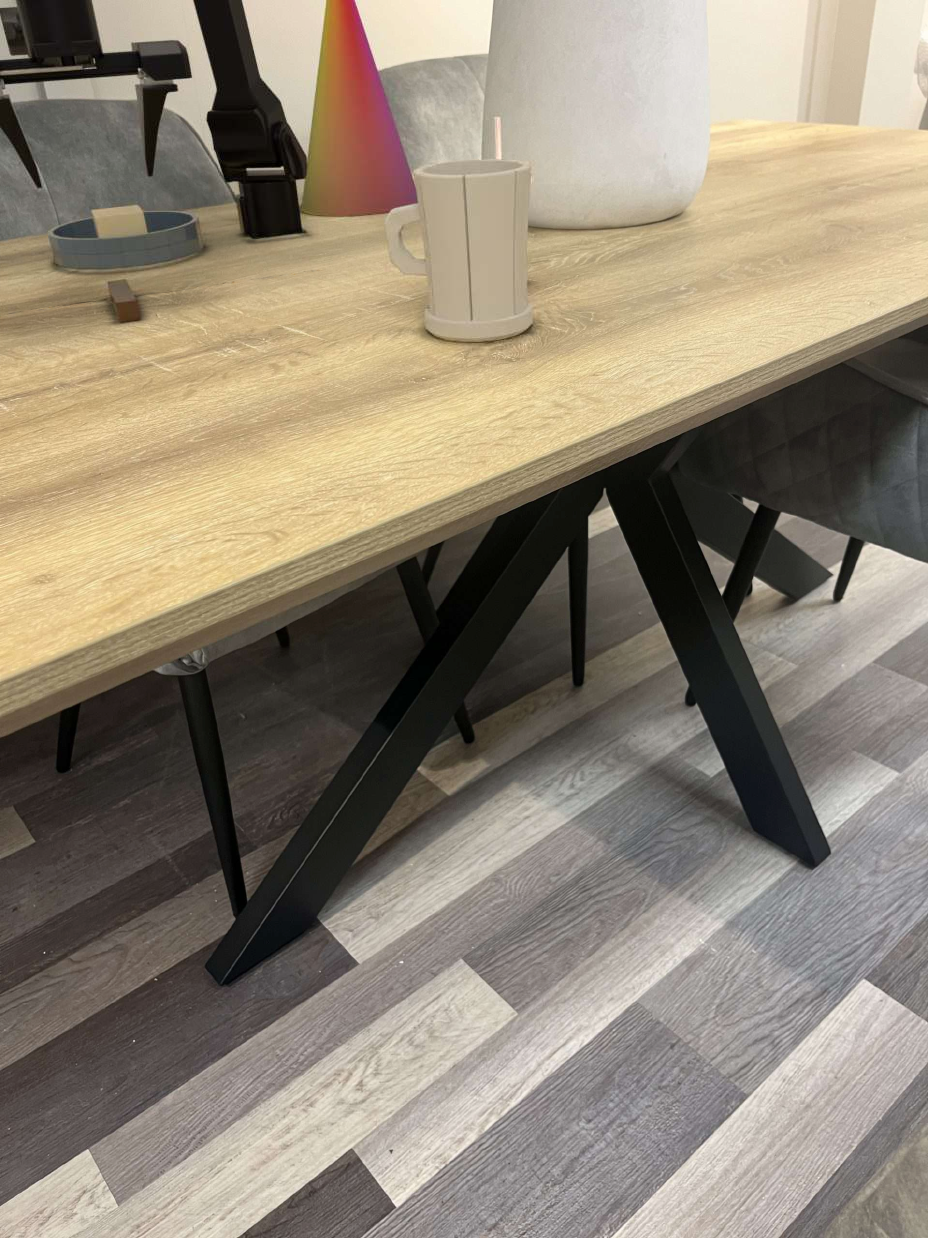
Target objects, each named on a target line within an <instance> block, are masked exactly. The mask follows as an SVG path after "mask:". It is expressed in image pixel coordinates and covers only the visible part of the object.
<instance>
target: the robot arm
mask: <svg viewBox="0 0 928 1238" xmlns="http://www.w3.org/2000/svg"><path fill="white" fill-rule="evenodd" d="M192 1H193V6H194V9H195V13H196V17H197V20H198V24H199V28H200V31H201V35H202V39H203V43H204V47H205V50H206V51H205V52H206V53H207V58H208V62H209V65H210V69H211V72H212V76H213V81H214V84H215V89H216V91H215V94H214V98H213V102H212V106H211V110H208V111H207V113H206V119H205V121H206V123H207V126H208V129H209V132H210V136H211V140H212V147H213V151H214V153H215V155H216V158H217V162H218V165H219V167H220V171H221V173H222V177H223V180H224V182H225V184H227V183H228V184H229V183H230V184H231V183H237V184H238V191H239V193H237V194H236V195H235V197H234V198H235V204H236V209H237V216H238V221H239V228H240V231H241V232H242V233H243V234H244V235H246V236H248V237H249V238H250V239H251V240H258V239H267V238H275V237H283V236H290V235H291V236H292V235H299V234H307V230H306V229H305V228H303V225H302V216H301V210H300V203H299V202H300V201H299V194H298V187H297V181H299V180H305V178H306V176H307V158H308V156H307V155H306V153H305V151H304V148H303V147H302V144H300V141H299V140H298V138H297V137H296V135H295V133H294V130H293V129H292V127H291V126H290V124H289V123H288V120H287V118H286V113H285V111H284V108H283V104H282V101H281V100H280V98H279V97H278V96H277V95H276V93H274V91H273V90H272V88H270V87H269V86H268V84H267V82H265V81H264V79H263V78H262V77H261V74H260V70H259V67H258V62H257V57H256V54H255V53H256V52H255V49H254V46H253V45H254V44H253V41H252V36H251V32H250V28H249V25H248V20H247V16H246V11H245V7H244V3H243V0H192ZM15 3H16V6H10V7H9V6H8V7H0V20H1V24H2V29H3V32H4V36H5V39H6V44H7V48H8V51H9V55H10V56H12V57H15V56H27V57H23V58H10V59H8V58H7V59H0V129H1V131H2V132H3V133H4V135H5V136H6V138H7V139H8V141H9V142H10V144H11V145H12V147H13V149H14V150H15V153H16V154H17V156H18V157H19V159H20V160H21V163H22V164H23V166H24V167H25V169H26V171H27V173H28V174H29V176H30V178H31V180H32V181H33V183H34V185H35V187H36V188H37V189H42V188H43V184H42V180H41V176H40V173H39V170H38V167H37V163H36V161H35V159H34V156H33V153H32V151H31V148H30V146H29V143H28V141H27V138H26V136H25V133H24V130H23V128H22V125H21V123H20V119H19V118H18V115H17V112H16V109H15V108H14V104H13V101H12V99H11V97H10V94H5V93H4V90H6V89H7V87H6V85H17V84H18V85H19V84H20V85H21V84H30V83H31V84H33V83H45V82H58V81H59V82H60V81H72V80H73V81H74V80H85V79H86V80H87V79H98V78H111V77H125V76H136V78H137V79H138V80H139V83H137V84H134V88H135V94H136V101H137V108H138V117H139V118H138V119H139V129H140V141H141V150H142V151H141V152H142V159H143V164H144V169H145V172H146V176H147V177H148V178H151V177H153V176H154V169H155V168H154V167H155V161H156V160H155V159H156V153H157V144H158V136H159V135H158V134H159V129H160V123H161V119H162V115H163V111H164V107H165V103H166V99H167V95H168V94H169V93H177V92H178V91H179V87H178V84H176V83H174V81H175V80H187V79H193V75H192V74H193V73H192V69H191V62H190V56H189V53H188V50H187V47H186V46H185V45H184V44H183V43H182V42H181V41H180V40H177V39H167V40H166V39H165V40H151V41H135V42H130V45H131V50H127V51H112V52H104V50H103V46H102V42H101V36H100V30H99V27H98V21H97V18H96V12H95V8H94V4H93V0H15ZM280 168H283V169H280ZM249 169H251V170H249Z"/></svg>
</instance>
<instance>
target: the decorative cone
mask: <svg viewBox="0 0 928 1238" xmlns="http://www.w3.org/2000/svg"><path fill="white" fill-rule="evenodd" d="M322 25H323V26H322V33H321V42H320V51H319V58H318V67H317V73H316V74H317V76H316V84H315V92H314V101H313V109H312V117H311V125H310V135H309V143H308V151H307V176H306V178H305V179H304V184H303V192H302V199H301V200H302V201H301V210H300V211H302V212H303V213H305V214H310V215H314V216H315V215H316V216H326V217H331V216H332V217H350V216H367V215H376V214H383V213H390V211H391V210H392V209H394V208H398V207H402V206H407V205H411V204H416V203H418V199H417V192H416V186H415V180H414V176H413V175H412V172H411V169H410V166H409V162H408V159H407V156H406V153H405V150H404V147H403V144H402V142H401V137H400V135H399V132H398V128H397V126H396V122H395V119H394V117H393V113H392V111H391V107H390V105H389V104H390V103H389V101H388V98H387V95H386V92H385V88H384V86H383V83H382V79H381V77H380V73H379V70H378V67H377V64H376V61H375V58H374V54H373V52H372V49H371V45H370V42H369V39H368V37H367V34H366V30H365V26H364V24H363V20H362V18H361V14H360V12H359V8H358V6H357V3H356V0H325V9H324V17H323V24H322Z"/></svg>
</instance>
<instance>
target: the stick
mask: <svg viewBox="0 0 928 1238" xmlns="http://www.w3.org/2000/svg"><path fill="white" fill-rule="evenodd" d="M106 284H107V290H108V293H109V297H110V302H111V304H112V306H113V308H114V311H115V313H116V316H117V318H118V321H119V323H127V322H133V321H140V320H141V315H140V309H139V305H138V302H137V299H136V297H135V294H134V292H133V290H132V288H131V287H130V285H129V282H128V280H127V279H126V278H124V279H116V280H108V281H106Z"/></svg>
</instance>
